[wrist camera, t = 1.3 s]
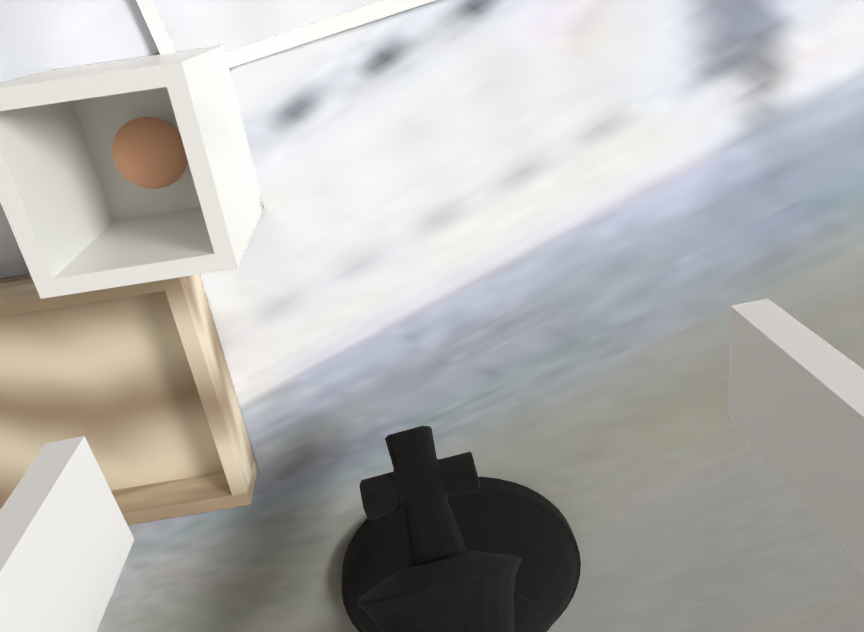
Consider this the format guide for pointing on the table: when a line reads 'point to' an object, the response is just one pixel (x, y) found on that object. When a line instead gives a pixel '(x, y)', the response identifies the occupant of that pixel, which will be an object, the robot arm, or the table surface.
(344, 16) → the photo frame
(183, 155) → the ball
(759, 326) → the robot arm
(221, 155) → the pen cup
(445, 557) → the sculpture
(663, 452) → the table surface
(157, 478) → the birch tray
